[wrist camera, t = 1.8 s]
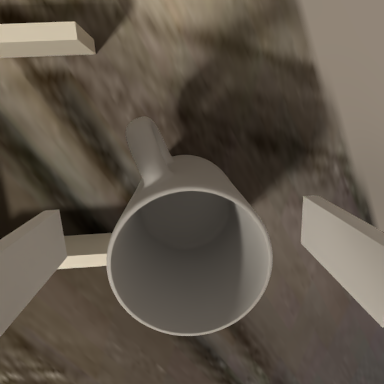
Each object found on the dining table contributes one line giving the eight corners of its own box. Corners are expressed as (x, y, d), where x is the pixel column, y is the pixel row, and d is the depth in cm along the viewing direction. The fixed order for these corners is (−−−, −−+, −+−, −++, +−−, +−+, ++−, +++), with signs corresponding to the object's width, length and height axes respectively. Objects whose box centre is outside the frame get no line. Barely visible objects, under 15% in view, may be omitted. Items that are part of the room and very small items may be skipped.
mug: (246, 225, 25) (297, 303, 15) (160, 261, 26) (149, 361, 15) (195, 97, 22) (212, 77, 12) (99, 139, 23) (30, 158, 12)
